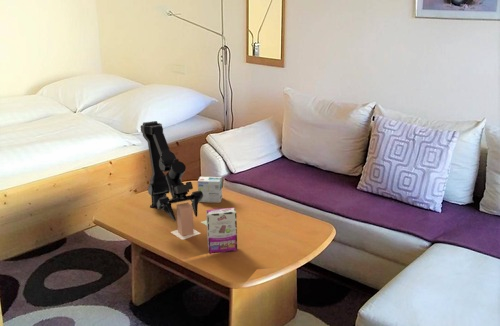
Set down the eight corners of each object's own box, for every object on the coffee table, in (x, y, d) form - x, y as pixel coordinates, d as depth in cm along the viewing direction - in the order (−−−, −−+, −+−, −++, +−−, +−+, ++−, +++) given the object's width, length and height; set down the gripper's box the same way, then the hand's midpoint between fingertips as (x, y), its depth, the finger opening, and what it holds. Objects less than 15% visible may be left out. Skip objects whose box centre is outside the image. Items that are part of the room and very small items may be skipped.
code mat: (184, 244, 216) (184, 243, 216) (164, 232, 227) (164, 230, 226) (236, 226, 232) (236, 224, 231) (214, 215, 243) (214, 213, 242)
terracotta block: (177, 231, 225) (176, 204, 221) (189, 229, 228) (188, 202, 224) (182, 236, 221) (180, 209, 217) (193, 233, 223) (192, 206, 219)
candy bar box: (235, 245, 216) (234, 207, 210) (237, 251, 211) (237, 212, 206) (207, 247, 214) (205, 209, 208) (208, 254, 209) (207, 214, 204)
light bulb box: (222, 197, 262) (222, 176, 259) (220, 203, 256) (220, 181, 252) (200, 196, 263) (199, 175, 260) (197, 202, 257) (197, 180, 253)
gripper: (157, 179, 216) (168, 215, 211) (201, 172, 224) (212, 206, 219) (152, 191, 225) (162, 226, 220) (194, 184, 234) (205, 217, 228)
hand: (186, 218), depth 221 cm, fingers open, 9 cm apart
